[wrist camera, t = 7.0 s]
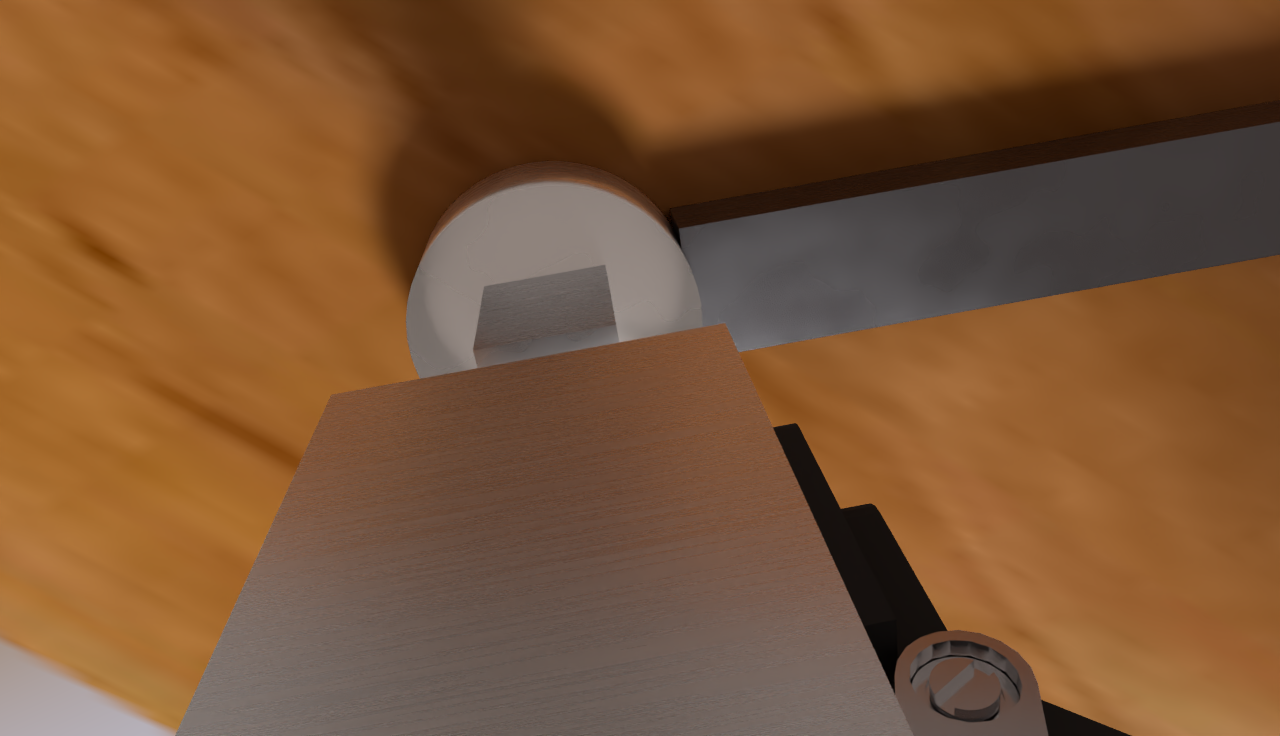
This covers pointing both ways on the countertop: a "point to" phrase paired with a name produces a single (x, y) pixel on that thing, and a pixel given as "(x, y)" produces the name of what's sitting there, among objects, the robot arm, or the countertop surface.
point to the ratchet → (837, 242)
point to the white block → (548, 565)
